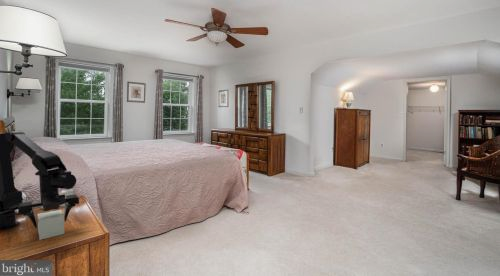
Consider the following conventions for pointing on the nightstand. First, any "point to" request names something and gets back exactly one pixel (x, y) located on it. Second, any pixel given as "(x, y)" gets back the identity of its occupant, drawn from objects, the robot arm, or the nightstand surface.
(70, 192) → the eye dropper bottle
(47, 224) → the white block
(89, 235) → the nightstand surface
